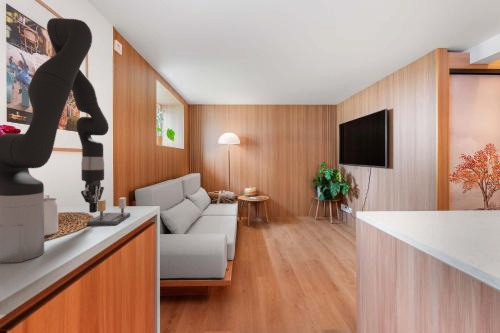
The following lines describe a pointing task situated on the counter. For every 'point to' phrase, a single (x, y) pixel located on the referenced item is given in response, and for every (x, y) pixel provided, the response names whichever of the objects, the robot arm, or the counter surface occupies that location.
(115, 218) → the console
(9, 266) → the counter surface
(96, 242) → the counter surface
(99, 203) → the knob
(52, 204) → the can
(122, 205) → the knob
